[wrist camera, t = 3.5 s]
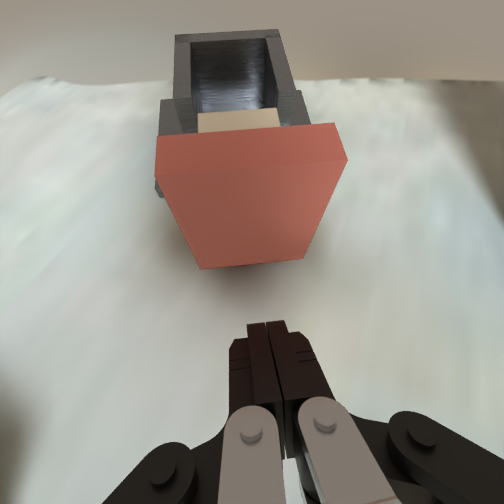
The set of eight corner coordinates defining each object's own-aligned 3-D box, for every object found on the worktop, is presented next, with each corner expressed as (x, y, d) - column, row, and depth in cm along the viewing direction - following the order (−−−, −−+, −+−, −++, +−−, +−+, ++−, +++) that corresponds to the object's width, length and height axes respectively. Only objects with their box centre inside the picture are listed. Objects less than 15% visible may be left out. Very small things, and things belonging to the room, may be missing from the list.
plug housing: (298, 101, 27) (311, 27, 21) (322, 183, 22) (347, 116, 16) (164, 111, 26) (139, 36, 20) (159, 197, 21) (126, 133, 16)
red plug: (281, 160, 21) (300, 30, 13) (303, 258, 17) (347, 160, 9) (197, 167, 21) (163, 37, 13) (200, 269, 17) (154, 176, 9)
